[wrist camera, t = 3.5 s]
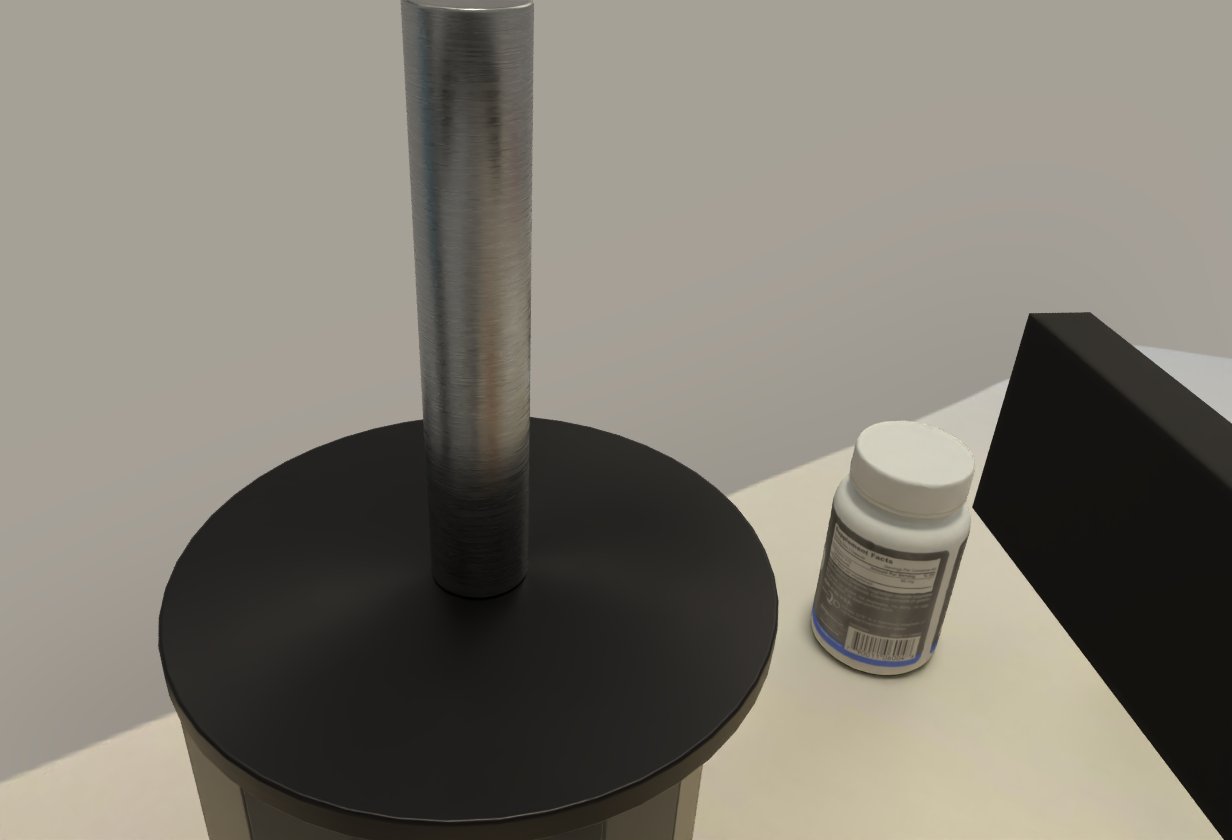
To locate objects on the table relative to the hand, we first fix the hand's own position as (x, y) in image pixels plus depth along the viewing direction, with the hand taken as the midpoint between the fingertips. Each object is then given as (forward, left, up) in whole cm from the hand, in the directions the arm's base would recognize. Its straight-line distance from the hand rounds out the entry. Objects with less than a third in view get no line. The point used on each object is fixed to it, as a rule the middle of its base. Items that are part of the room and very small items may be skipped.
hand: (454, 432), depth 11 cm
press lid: (+2, +5, -7) cm, 9 cm away
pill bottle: (+19, +13, -21) cm, 31 cm away
